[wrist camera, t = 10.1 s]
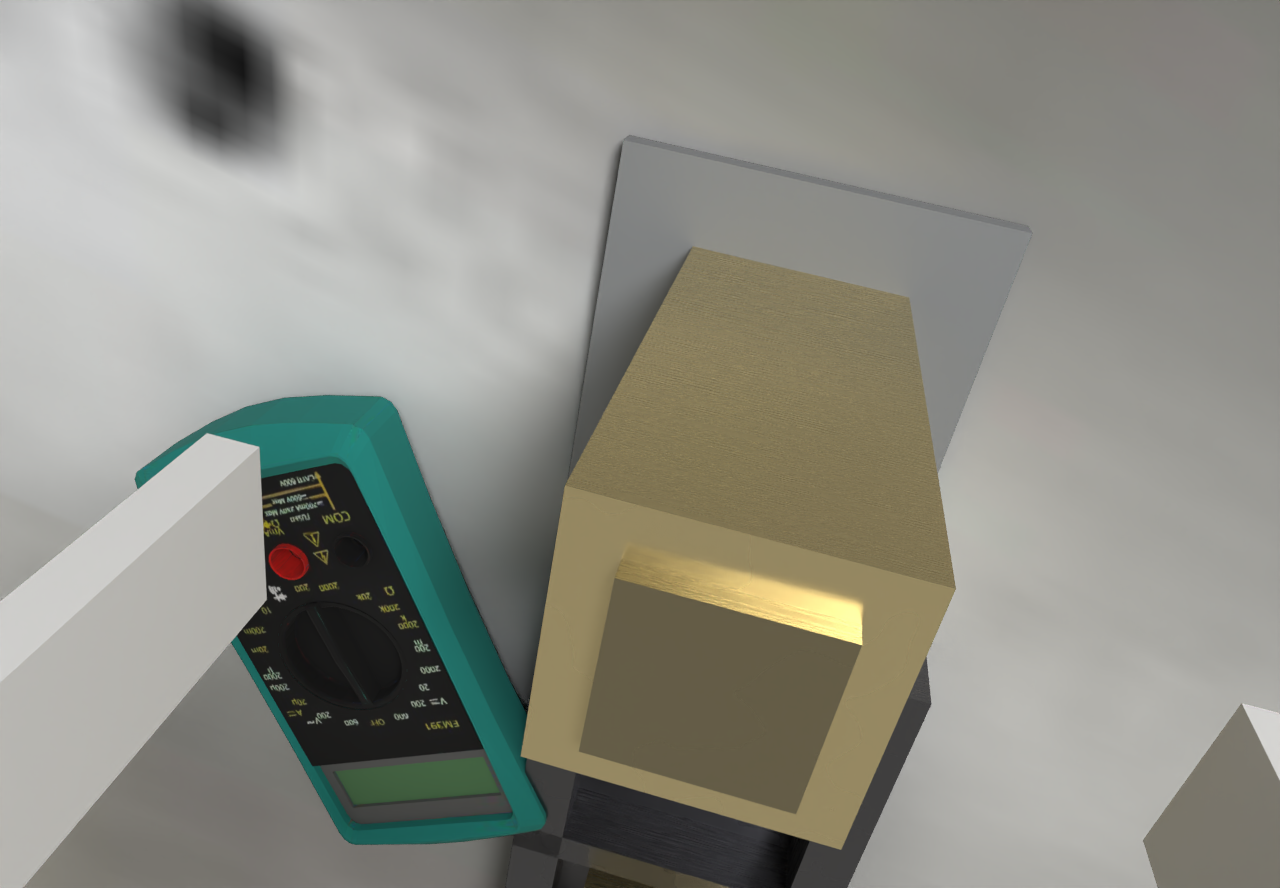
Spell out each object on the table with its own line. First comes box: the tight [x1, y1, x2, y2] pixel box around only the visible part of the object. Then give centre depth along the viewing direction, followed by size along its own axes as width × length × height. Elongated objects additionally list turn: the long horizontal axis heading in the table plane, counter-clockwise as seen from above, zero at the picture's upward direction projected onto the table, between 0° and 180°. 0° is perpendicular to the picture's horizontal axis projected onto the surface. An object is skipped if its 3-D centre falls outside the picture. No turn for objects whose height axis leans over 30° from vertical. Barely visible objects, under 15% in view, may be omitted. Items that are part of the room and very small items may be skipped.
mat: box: [568, 135, 1033, 479], centre depth 23 cm, size 9×9×1 cm
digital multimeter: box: [135, 395, 546, 845], centre depth 27 cm, size 7×15×3 cm, turn 17°
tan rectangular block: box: [521, 246, 956, 850], centre depth 18 cm, size 5×5×11 cm
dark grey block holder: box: [505, 658, 931, 888], centre depth 30 cm, size 19×10×2 cm, turn 170°
